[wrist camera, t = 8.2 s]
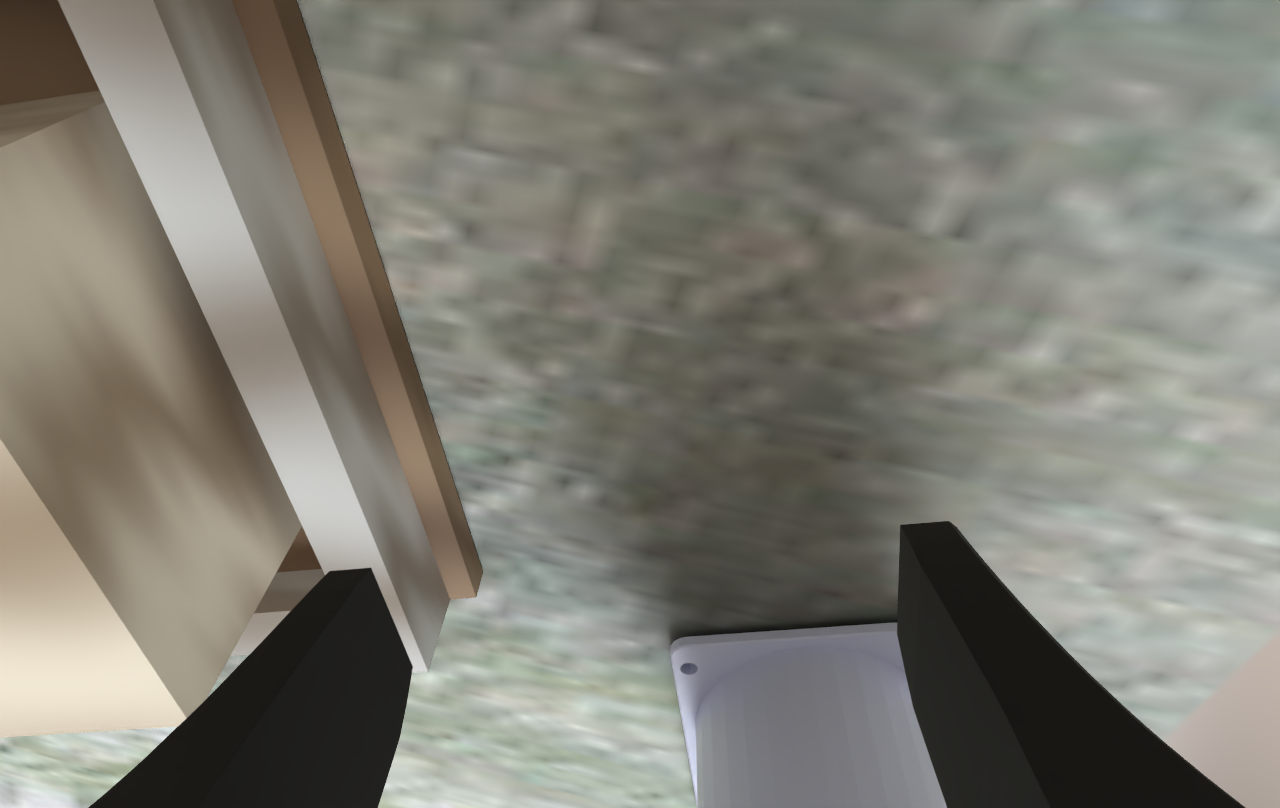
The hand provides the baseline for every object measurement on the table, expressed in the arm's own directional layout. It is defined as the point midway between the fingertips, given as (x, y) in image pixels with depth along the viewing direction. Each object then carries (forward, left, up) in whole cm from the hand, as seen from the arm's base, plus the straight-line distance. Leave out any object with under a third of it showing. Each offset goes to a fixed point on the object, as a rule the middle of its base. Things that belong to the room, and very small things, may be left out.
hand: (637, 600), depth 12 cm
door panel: (+1, +11, -8) cm, 14 cm away
